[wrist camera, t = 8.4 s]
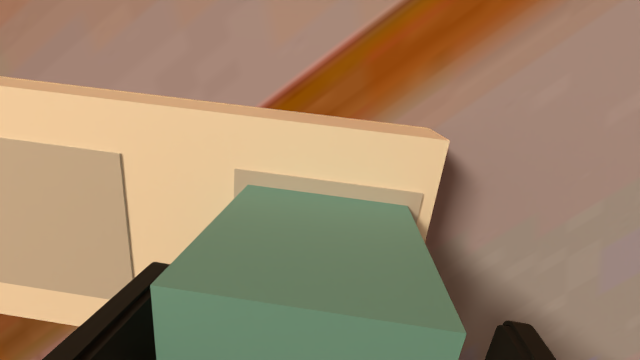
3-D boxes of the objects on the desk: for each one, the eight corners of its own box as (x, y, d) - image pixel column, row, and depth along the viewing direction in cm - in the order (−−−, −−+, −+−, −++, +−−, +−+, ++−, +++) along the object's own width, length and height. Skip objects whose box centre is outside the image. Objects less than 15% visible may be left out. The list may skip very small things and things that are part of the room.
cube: (407, 205, 11) (466, 333, 6) (379, 333, 13) (403, 525, 7) (247, 184, 12) (150, 284, 6) (243, 312, 13) (166, 481, 8)
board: (428, 127, 13) (450, 141, 10) (384, 327, 17) (392, 379, 14) (-41, 71, 14) (-140, 69, 12) (9, 269, 18) (-57, 306, 15)
